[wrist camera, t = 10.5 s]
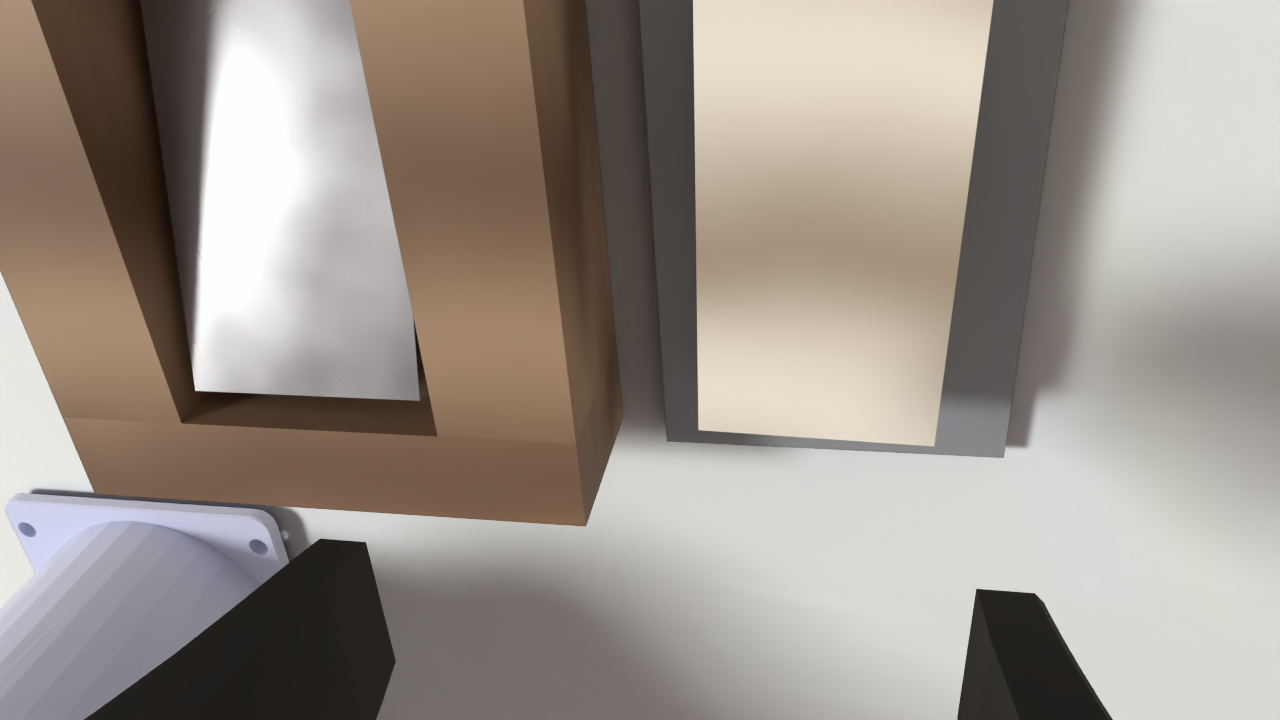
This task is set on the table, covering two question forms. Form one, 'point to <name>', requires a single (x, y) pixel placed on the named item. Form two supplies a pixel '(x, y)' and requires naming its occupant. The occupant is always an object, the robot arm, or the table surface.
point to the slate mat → (989, 241)
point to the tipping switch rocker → (279, 201)
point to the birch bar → (831, 210)
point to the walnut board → (430, 250)
